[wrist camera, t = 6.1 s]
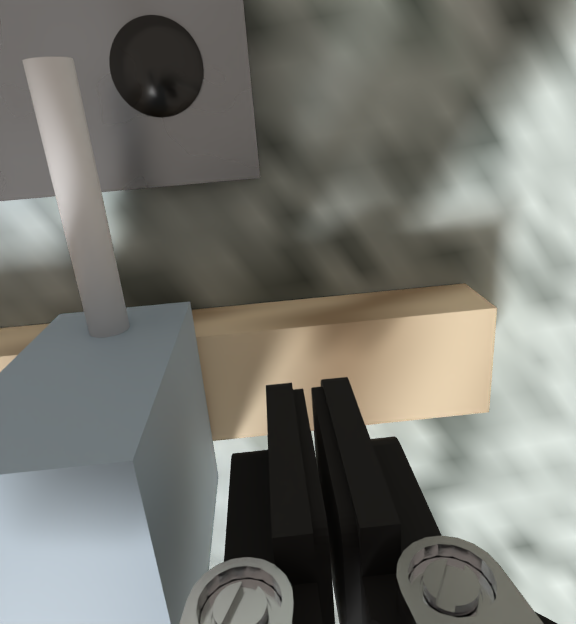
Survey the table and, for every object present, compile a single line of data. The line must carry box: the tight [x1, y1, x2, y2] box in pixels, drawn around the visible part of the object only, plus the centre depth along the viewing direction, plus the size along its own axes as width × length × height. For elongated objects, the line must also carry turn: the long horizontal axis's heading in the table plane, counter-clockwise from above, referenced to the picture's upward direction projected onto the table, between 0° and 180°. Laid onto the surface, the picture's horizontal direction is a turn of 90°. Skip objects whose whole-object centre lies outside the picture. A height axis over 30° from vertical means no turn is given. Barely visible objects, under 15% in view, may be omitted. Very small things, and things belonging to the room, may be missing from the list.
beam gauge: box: [0, 283, 497, 441], centre depth 10 cm, size 20×10×8 cm, turn 95°
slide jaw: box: [0, 57, 218, 624], centre depth 9 cm, size 3×10×6 cm, turn 5°
